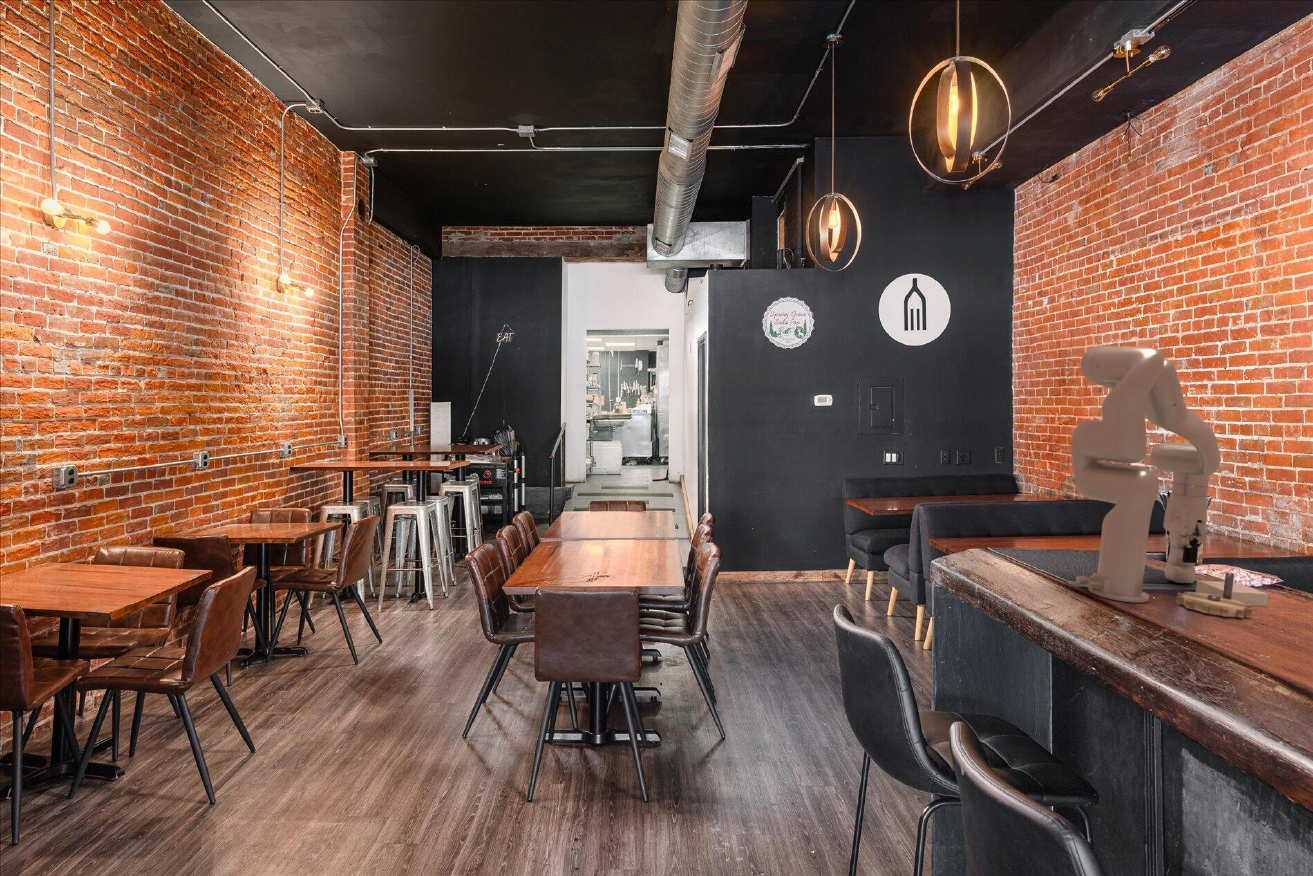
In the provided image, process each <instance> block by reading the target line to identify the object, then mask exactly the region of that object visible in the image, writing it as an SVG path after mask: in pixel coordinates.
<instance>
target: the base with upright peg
mask: <svg viewBox="0 0 1313 876" xmlns="http://www.w3.org/2000/svg"><path fill="white" fill-rule="evenodd" d="M1234 578H1235V573H1234V572H1228V571H1227V572H1225V576H1224V582H1225V583H1224V591H1223V596H1219V595H1213V594H1207V593H1197V592H1196V591H1195V592H1192V591H1184V592H1183V593H1181V592H1177V593H1176V598H1175V599H1176V604H1178V605H1182V606H1184V607H1185V608H1186V609H1191V610H1194V611H1197V612H1201V613H1203V614H1204V613H1205V614H1209V615H1215V616H1222V617H1227V618H1228V617H1231V618H1240V619H1242V618H1243V619H1244V618H1245V616H1247V617H1252V616H1253V608H1252V606H1251V605H1248V604H1244V603H1242V602H1241V601H1239V600H1234V599H1231V597H1232V589H1233V582H1234V581H1235V579H1234Z"/></svg>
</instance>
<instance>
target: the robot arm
mask: <svg viewBox="0 0 1313 876" xmlns="http://www.w3.org/2000/svg"><path fill="white" fill-rule="evenodd" d="M1080 369H1081V372H1082V374H1083V376H1084V377H1085V379H1087V381H1089V382H1090V383H1094V384H1095V385H1099V386H1102V387H1104V388H1108V389H1110V390H1111V391H1109V392H1108V394H1106V396H1105V397H1104V398H1103V401H1102V402H1101V403H1102V404H1101V417H1102V420H1095V419H1094V420H1093V419H1092V420H1089V419H1088V420H1084V421H1082V422H1080V423H1078V425H1076V427H1075V428H1074V429H1073V432H1072V435H1071V441H1070V448H1071V458H1072V467H1073V474H1074V475H1073V476H1074V482H1075V487H1076V490H1077V492H1078V493H1079V494H1080V495H1081V496H1082V497H1084V498H1086V499H1090V500H1093V501H1094V500H1095V501H1100V502H1105V503H1111V504H1115V505H1114V507H1112V509H1110V510H1109V512H1107V514H1106V515H1105V516H1104V518H1103V521H1102V526H1101V533H1100V534H1101V535H1100V536H1101V537H1100V543H1099V544H1100V545H1099V554H1098V565H1097V572H1092V575H1089V576H1083V575H1077V576H1076V577H1075V582H1076V584H1077V585H1087V587H1088V589H1087V590H1088V591H1089V592H1090V593H1091V594H1093V595H1095V596H1097V597H1101V598H1104V599H1108V600H1114V601H1118V602H1125V603H1134V604H1136V603H1137V604H1139V603H1146V602H1149V601H1150V595H1149V594H1148V593H1147V592H1145V591H1143V586H1144V585H1143V584H1144V577H1145V566H1146V558H1147V552H1148V551H1147V550H1148V540H1149V533H1150V531H1149V530H1150V524H1151V518H1152V512H1153V510H1154V509H1153V508H1154V505H1155V501H1156V498H1157V496H1158V493H1159V489H1160V481H1159V478H1158V475H1157V474H1156V473H1155V472H1153V470H1151V469H1148V468H1146V467H1143V466H1138V465H1131V464H1136V463H1140V462H1142V461H1143V460H1144V459H1145V458H1146V455H1147V453H1148V436H1147V424H1146V419H1147V420H1148V422H1150V423H1152V424H1153V425H1155V426H1157V427H1159V428H1161V429H1163V430H1166V431H1169V432H1171V433H1173V434H1175V435H1178V436H1180V437H1182V438H1184V439H1185V440H1186V441H1188V442H1189V443H1188V442H1185V443H1183V442H1182V443H1181V442H1173V441H1172V442H1171V441H1169V442H1168V441H1165V442H1161V443H1158V444H1156V445H1155V446H1154V447H1153V448H1152V450H1151V452H1150V462H1151V464H1152V466H1153V467H1154V468H1156V469H1157V470H1160V471H1163V472H1169V473H1173V479H1172V487H1171V493H1170V495H1169V497H1168V499H1167V505H1166V509H1165V514H1164V518H1163V519H1164V520H1163V528H1164V529H1165V531H1166V535H1167V541H1168V544H1167V545H1168V547H1167V553H1166V554H1167V555H1166V556H1167V557H1169V553H1170V529H1169V526H1170V524H1171V523H1172V522H1176V524H1177V525H1178V532H1177V533H1178V534H1180V535H1183V536H1186V547H1184V553H1183V562H1185V563H1195V564H1197V561H1198V553H1199V549H1200V548H1201V545H1202V544H1203V543H1204V542H1205V541H1206V540H1207V539H1208V536H1207V534H1206V531H1207V530H1206V529H1207V523H1208V522H1207V520H1208V502H1207V498H1208V490H1209V489H1208V488H1209V481H1210V476H1211V475H1214V473H1216V472H1217V471H1218V469H1219V467H1220V465H1221V464H1220V463H1221V452H1220V449H1219V444H1218V439H1217V437H1216V434H1215V432H1214V430H1213V429H1212V428H1211V426H1209V425H1208V424H1207V423H1206V422H1205V421H1204V420H1203V419H1202V418H1201V417H1199V416H1198V415H1197V414H1196V413H1194V412H1193V411H1191V409H1189V408H1188V407H1187V405H1186V400H1185V397H1184V394H1183V390H1182V385H1181V381H1180V380H1179V379H1180V378H1179V374H1178V372H1177V371H1178V370H1177V368H1176V365H1175V364H1174V362H1172V360H1171V359H1168V358H1167V357H1165V356H1164V353H1163V352H1162V350H1160V349H1158V348H1155V347H1151V346H1142V345H1141V346H1140V345H1138V346H1137V345H1136V346H1135V345H1124V346H1123V345H1122V346H1121V345H1120V346H1119V345H1118V346H1105V345H1104V346H1093V347H1091V348H1089V349H1087V350H1086V351H1085V353H1084V354H1083V355H1082V357H1081V360H1080ZM1129 464H1130V465H1129ZM1193 533H1196V536H1195V535H1192V534H1193ZM1191 538H1195V539H1193V540H1192V541H1191Z"/></svg>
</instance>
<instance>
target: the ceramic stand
mask: <svg viewBox="0 0 1313 876" xmlns="http://www.w3.org/2000/svg"><path fill="white" fill-rule="evenodd" d="M1224 583H1225V581H1218V580H1217V581H1216V580H1215V581H1214V580H1201V579H1199V580H1198V579H1197V580H1196V588H1195V592H1197V593H1207V594H1213V595H1219V596H1223V591H1224ZM1269 595H1270V594H1269V593H1266V592H1264V591H1261V590H1258V589H1257V588H1253V587H1250V586H1248V585H1244V584H1242V583H1239V582H1234V581H1233V589H1232V597H1231V599H1234V600H1239V601H1241V602H1242V603H1244V604H1248V605H1251V607H1268V601H1269Z"/></svg>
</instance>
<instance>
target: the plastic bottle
mask: <svg viewBox="0 0 1313 876" xmlns="http://www.w3.org/2000/svg"><path fill="white" fill-rule="evenodd" d="M1169 529H1170V541H1169V542H1170V553H1169V556H1168V559H1167V563H1166V566H1165V569H1164V577H1165V579H1167V578H1169V579H1173V580H1178V581H1180V582H1188V583H1191V584H1192V583H1194V582H1195V579H1196V567H1195V564H1196V563H1185V562H1183V553H1184V547H1186V536H1183V535H1180V534H1178V533H1177V532H1178V525H1177V524H1176V522H1172V523H1171V524H1170V526H1169ZM1192 535H1195V536H1196V533H1193V534H1192ZM1193 539H1195V538H1191V541H1192V540H1193Z"/></svg>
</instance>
